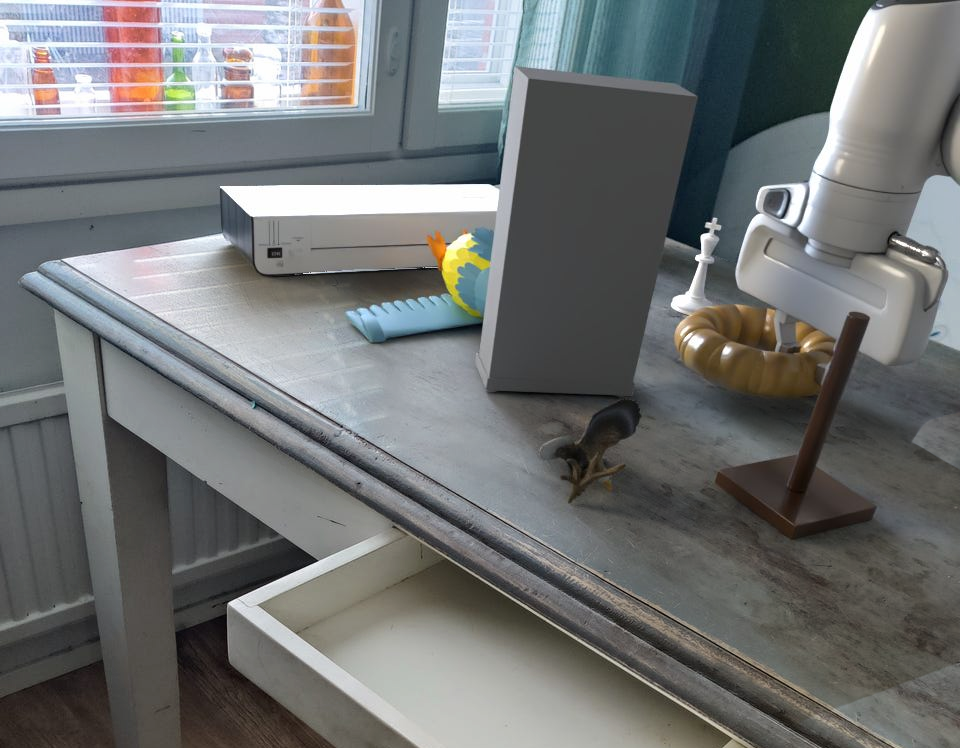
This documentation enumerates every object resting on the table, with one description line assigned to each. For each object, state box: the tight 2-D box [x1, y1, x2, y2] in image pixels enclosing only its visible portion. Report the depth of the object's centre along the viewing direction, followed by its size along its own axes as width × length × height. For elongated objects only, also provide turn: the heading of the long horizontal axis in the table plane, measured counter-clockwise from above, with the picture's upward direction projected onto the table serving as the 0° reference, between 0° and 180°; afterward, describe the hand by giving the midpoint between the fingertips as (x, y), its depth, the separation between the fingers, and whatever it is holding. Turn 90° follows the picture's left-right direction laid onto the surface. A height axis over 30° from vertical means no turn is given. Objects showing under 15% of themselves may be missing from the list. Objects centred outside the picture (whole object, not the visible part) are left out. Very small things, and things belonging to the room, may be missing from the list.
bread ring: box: [673, 303, 836, 400], centre depth 95 cm, size 16×16×4 cm
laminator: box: [219, 183, 500, 278], centre depth 113 cm, size 34×12×6 cm, turn 118°
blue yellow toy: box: [344, 227, 494, 344], centre depth 100 cm, size 28×9×15 cm
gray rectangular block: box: [474, 65, 699, 398], centre depth 85 cm, size 14×6×25 cm, turn 100°
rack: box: [714, 312, 878, 540], centre depth 75 cm, size 9×9×15 cm
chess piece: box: [670, 217, 722, 316], centre depth 110 cm, size 5×5×10 cm
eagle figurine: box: [538, 397, 643, 504], centre depth 76 cm, size 8×7×9 cm
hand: (803, 373), depth 91 cm, fingers closed on bread ring, 4 cm apart
